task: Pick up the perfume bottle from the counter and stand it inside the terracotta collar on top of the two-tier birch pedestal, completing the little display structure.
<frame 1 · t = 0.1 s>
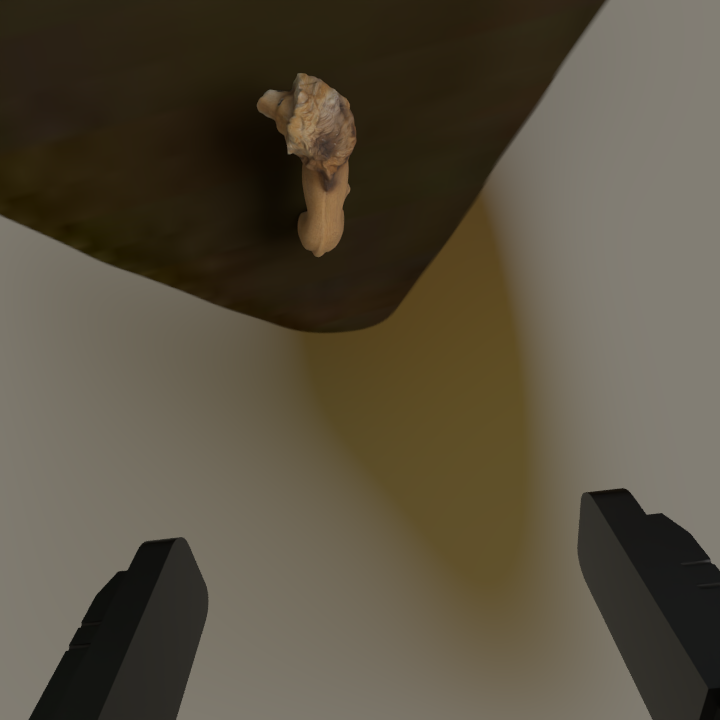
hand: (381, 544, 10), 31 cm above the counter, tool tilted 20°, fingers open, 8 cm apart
lion figurine: (315, 148, 36), on the counter
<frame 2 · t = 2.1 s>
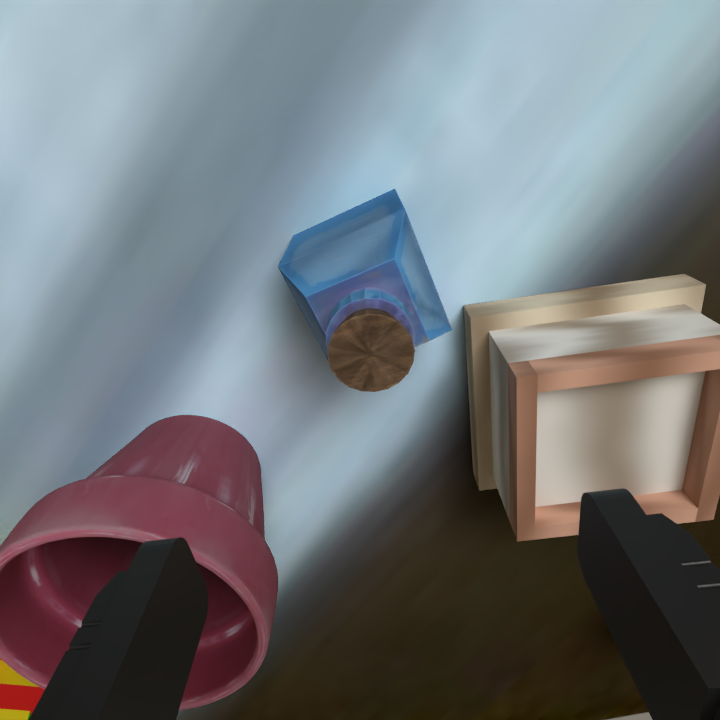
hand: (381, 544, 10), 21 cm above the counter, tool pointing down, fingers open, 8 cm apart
plant pot: (200, 464, 35), on the counter
perfume bottle: (365, 261, 29), on the counter
pedestal: (567, 383, 32), on the counter
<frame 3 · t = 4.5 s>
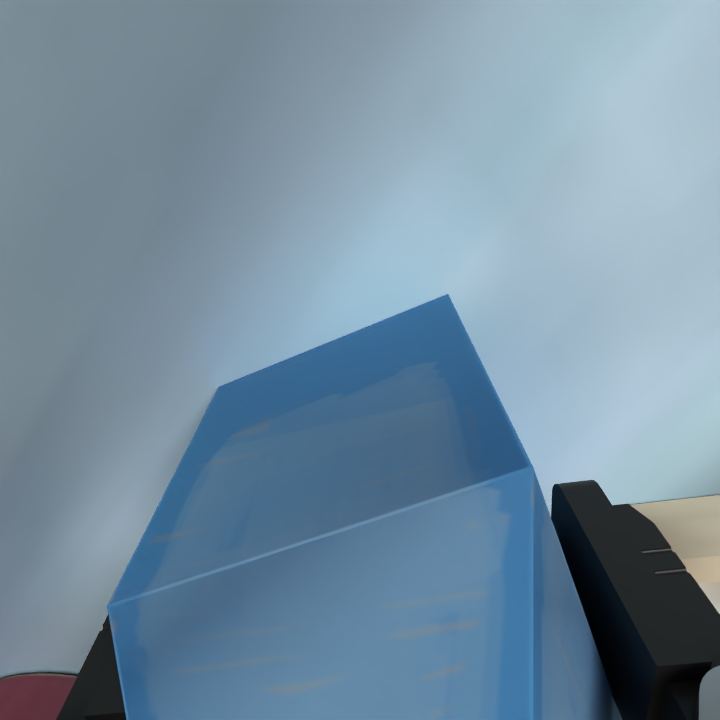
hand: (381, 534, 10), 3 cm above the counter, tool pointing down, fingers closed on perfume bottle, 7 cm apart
perfume bottle: (376, 433, 13), on the counter, touching gripper
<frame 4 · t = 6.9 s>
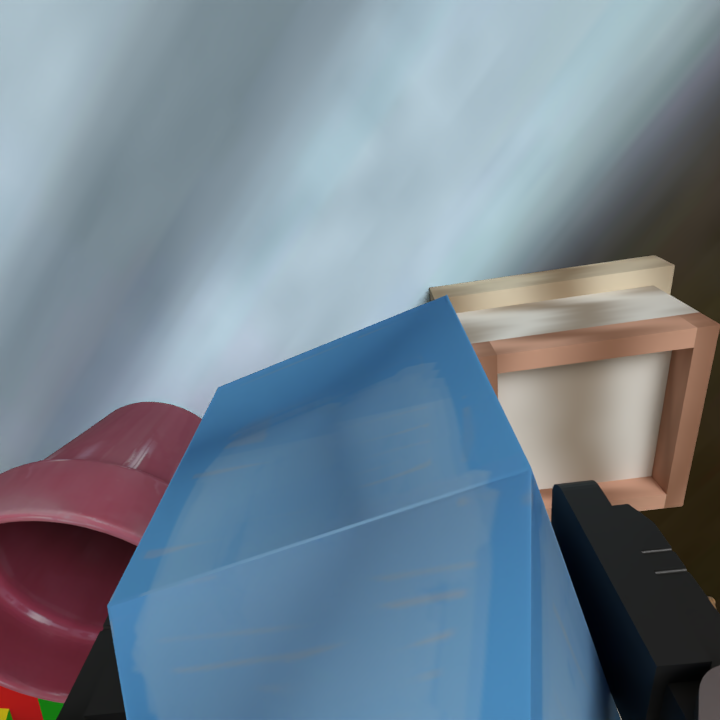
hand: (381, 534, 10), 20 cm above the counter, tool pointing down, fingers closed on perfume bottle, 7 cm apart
plant pot: (164, 453, 34), on the counter
perfume bottle: (376, 433, 13), point 17 cm above the counter, touching gripper
pedestal: (538, 368, 31), on the counter
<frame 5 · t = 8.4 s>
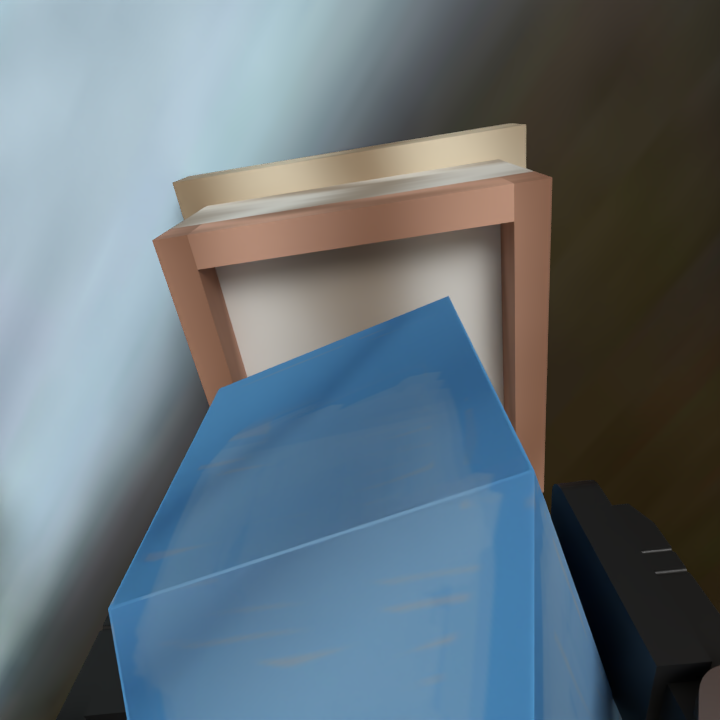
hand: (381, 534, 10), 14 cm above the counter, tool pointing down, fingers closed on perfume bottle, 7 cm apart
perfume bottle: (377, 434, 13), point 10 cm above the counter, touching gripper
pedestal: (369, 302, 22), on the counter
when the fingers open (10 cm above the counter, at t = 9.6 s): perfume bottle drops 1 cm, resting on pedestal.
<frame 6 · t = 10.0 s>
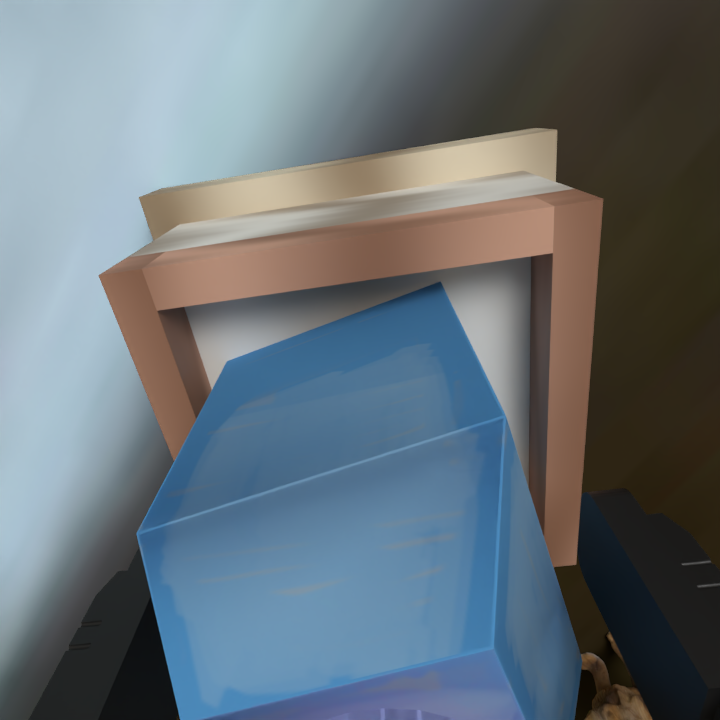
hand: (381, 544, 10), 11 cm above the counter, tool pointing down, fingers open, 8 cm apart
lion figurine: (619, 664, 30), on the counter
perfume bottle: (371, 409, 14), point 6 cm above the counter, touching pedestal
pedestal: (370, 330, 20), on the counter
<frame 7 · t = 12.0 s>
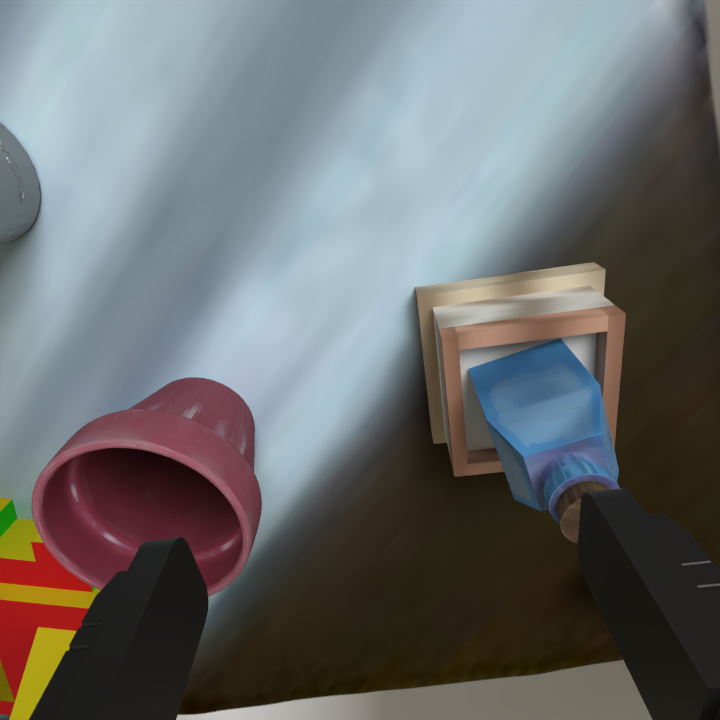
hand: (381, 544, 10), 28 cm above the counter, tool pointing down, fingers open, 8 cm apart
building blocks toy: (60, 585, 53), on the counter
plant pot: (205, 420, 43), on the counter
perfume bottle: (523, 390, 34), point 6 cm above the counter, touching pedestal
pedestal: (505, 353, 39), on the counter
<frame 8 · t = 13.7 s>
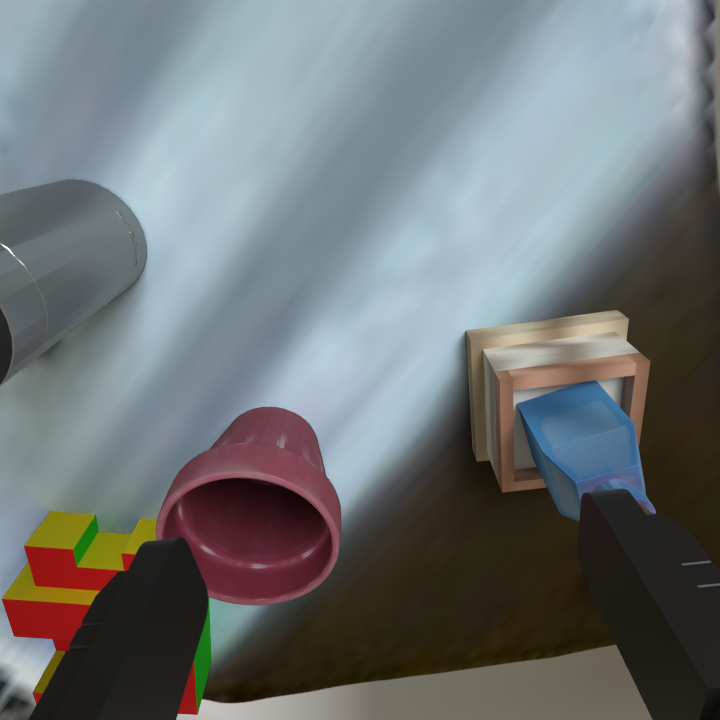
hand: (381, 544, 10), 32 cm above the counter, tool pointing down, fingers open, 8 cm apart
building blocks toy: (131, 590, 59), on the counter
plant pot: (273, 443, 48), on the counter
perfume bottle: (561, 420, 40), point 6 cm above the counter, touching pedestal
pedestal: (539, 384, 45), on the counter
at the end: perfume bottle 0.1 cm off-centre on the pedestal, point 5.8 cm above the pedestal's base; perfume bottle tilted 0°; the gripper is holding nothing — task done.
